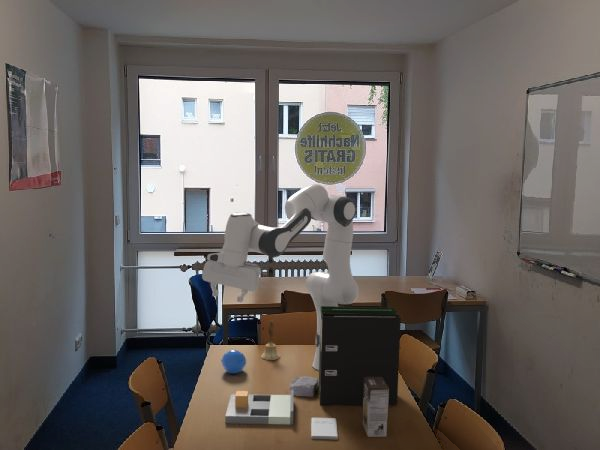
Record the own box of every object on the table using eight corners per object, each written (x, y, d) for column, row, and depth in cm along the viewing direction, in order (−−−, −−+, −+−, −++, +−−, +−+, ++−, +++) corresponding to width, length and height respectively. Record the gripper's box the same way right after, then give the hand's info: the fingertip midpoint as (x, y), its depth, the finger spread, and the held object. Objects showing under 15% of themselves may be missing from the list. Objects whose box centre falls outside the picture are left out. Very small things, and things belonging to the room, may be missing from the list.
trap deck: (293, 401, 200) (293, 389, 199) (293, 424, 183) (293, 411, 182) (231, 400, 200) (231, 388, 199) (225, 423, 183) (225, 410, 182)
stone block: (288, 400, 206) (315, 397, 204) (286, 387, 206) (313, 384, 204) (295, 388, 217) (320, 386, 215) (293, 376, 217) (318, 373, 215)
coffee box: (361, 423, 185) (363, 376, 183) (380, 423, 185) (382, 376, 183) (367, 437, 176) (368, 387, 174) (387, 436, 176) (389, 387, 174)
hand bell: (263, 353, 249) (263, 318, 247) (281, 354, 248) (282, 319, 246) (259, 359, 241) (259, 323, 239) (278, 361, 240) (278, 324, 238)
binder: (390, 390, 212) (394, 307, 208) (397, 407, 197) (401, 318, 193) (318, 389, 211) (320, 306, 208) (320, 406, 197) (322, 317, 193)
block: (248, 402, 193) (248, 391, 192) (247, 407, 189) (247, 396, 188) (236, 402, 193) (236, 391, 192) (235, 407, 189) (235, 395, 188)
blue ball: (247, 366, 233) (247, 344, 231) (245, 378, 221) (245, 354, 219) (223, 366, 232) (223, 344, 231) (219, 377, 220) (219, 354, 219)
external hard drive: (311, 440, 174) (311, 421, 186) (337, 441, 174) (336, 422, 186) (311, 435, 174) (311, 417, 186) (337, 436, 174) (336, 417, 186)
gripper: (265, 264, 192) (258, 304, 193) (211, 253, 199) (205, 292, 199) (257, 265, 186) (251, 306, 187) (203, 254, 193) (197, 293, 193)
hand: (227, 299), depth 193 cm, fingers open, 8 cm apart
